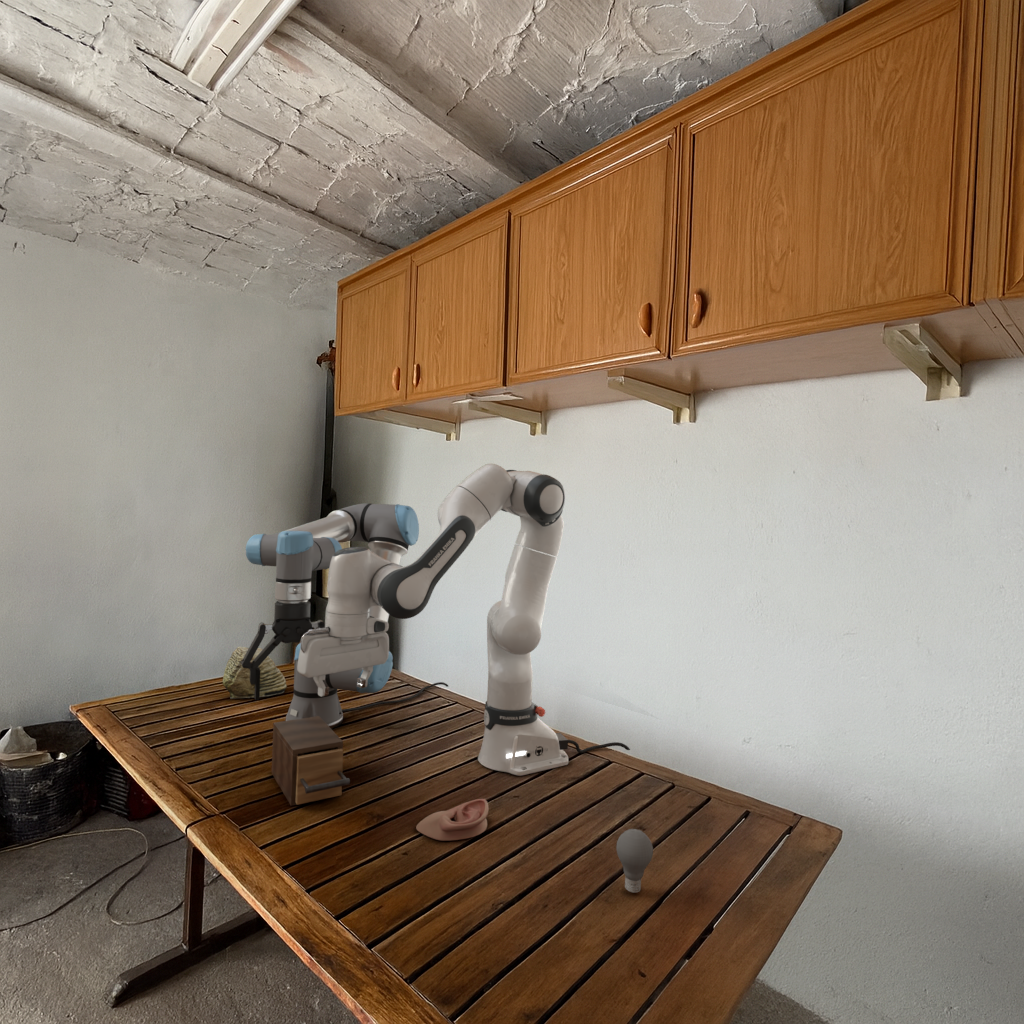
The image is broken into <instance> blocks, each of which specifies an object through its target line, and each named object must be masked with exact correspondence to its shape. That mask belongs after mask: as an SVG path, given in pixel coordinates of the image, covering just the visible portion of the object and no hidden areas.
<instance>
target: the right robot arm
mask: <svg viewBox="0 0 1024 1024" xmlns="http://www.w3.org/2000/svg"><path fill="white" fill-rule="evenodd" d="M565 502H566V493H565V488H564V485H563V484H562V483H561V481H559V480H558V479H557V478H555V477H553V476H551V475H548V474H544V473H543V474H542V473H540V472H537V471H531V470H516V469H505V468H504V467H503V466H501V465H499V464H497V463H487V464H484V465H482V466H481V467H479V468H477V469H476V470H474V471H472V473H470V474H468V475H467V476H466V477H465V478H464V479H463V480H461V481H460V482H459V483H458V484H457V485H456V486H455V487H454V488H453V489H452V490H451V491H450V492H449V493H448V494H447V495H446V496H445V497H444V499H443V500H442V502H441V503H440V504H439V506H438V508H437V521H438V524H439V531H438V534H437V535H436V536H435V538H434V539H433V540H432V542H431V543H429V545H427V547H426V548H425V549H424V550H423V551H422V552H421V554H420V555H419V556H418V557H417V558H415V560H414V561H413V562H411V563H410V564H407V565H405V566H403V565H401V564H400V565H398V564H395V563H392V562H390V561H388V560H385V559H383V558H381V557H379V556H378V555H376V554H375V553H373V552H372V551H371V549H370V548H369V547H367V546H350V547H344V548H342V549H341V550H338V551H337V552H336V553H334V555H333V556H332V559H331V562H330V567H329V568H328V575H327V586H326V591H327V595H328V599H327V605H326V607H325V617H324V625H325V628H320V629H314V628H311V630H308V632H306V633H305V634H304V635H303V636H302V637H301V641H300V643H301V645H300V647H301V648H300V653H299V658H298V665H297V671H298V672H299V673H300V675H302V676H304V677H307V678H311V677H313V679H314V681H315V683H316V684H317V686H318V695H319V696H321V697H323V696H327V695H329V692H328V691H329V687H328V686H325V685H324V682H323V680H325V675H327V674H332V673H337V672H342V671H348V670H353V669H358V668H362V669H363V672H362V675H361V677H360V678H357V687H360V688H364V687H367V683H368V678H369V677H370V675H371V673H372V671H373V666H374V665H380V664H384V663H385V662H386V661H387V659H388V656H389V652H390V637H389V634H388V633H387V632H388V631H389V628H390V624H389V621H388V622H386V621H383V620H380V619H377V618H374V617H372V616H369V611H370V607H371V606H380V607H381V608H383V609H384V610H385V611H386V612H387V613H388V614H389V616H391V617H392V618H395V619H400V620H406V619H411V618H414V617H416V616H418V615H419V614H420V613H421V612H423V611H424V609H425V608H426V606H427V605H428V604H429V601H430V599H431V598H432V595H433V592H434V590H435V588H436V586H437V585H438V583H439V582H440V581H441V579H442V578H443V577H444V575H445V574H446V573H447V572H448V570H450V568H451V567H452V566H453V565H454V564H455V562H456V561H457V560H458V559H459V558H460V557H461V555H463V553H464V552H465V550H466V549H467V548H468V547H469V545H470V544H471V542H473V540H474V538H475V537H476V536H477V535H478V534H479V533H480V532H481V531H482V530H483V529H484V528H485V527H486V526H487V525H488V524H489V523H490V522H491V520H493V518H494V517H495V516H496V515H498V513H499V512H500V511H502V512H504V513H509V514H511V515H514V516H517V517H519V519H520V529H519V532H518V533H517V536H516V540H515V543H514V544H513V545H514V546H513V549H512V552H511V555H510V558H509V561H508V565H507V568H506V571H505V575H504V584H503V590H502V596H501V599H500V600H498V601H496V602H495V603H494V604H493V605H491V607H490V608H489V610H488V612H487V616H486V647H487V649H486V651H487V695H486V701H485V705H484V711H483V712H484V713H483V714H484V715H483V723H484V732H483V737H482V742H481V747H480V750H479V753H478V756H477V761H478V762H479V764H481V766H483V767H485V768H488V769H490V770H492V771H493V770H494V771H497V772H504V773H508V774H511V775H514V776H519V777H520V776H526V775H529V774H535V773H538V772H542V771H543V772H544V771H547V770H551V769H556V768H560V767H564V766H567V765H569V761H570V760H569V756H568V754H567V753H566V751H565V750H568V749H569V744H572V745H574V747H575V750H576V752H577V753H578V754H585V753H588V752H590V751H594V750H599V749H605V748H610V747H621V748H623V749H625V750H626V751H631V749H630V747H629V746H628V745H627V744H625V743H623V742H616V741H615V742H614V741H612V742H607V743H603V744H597V745H592V746H589V747H585V748H584V749H580V745H579V743H578V742H577V741H575V740H573V739H569V738H567V737H565V735H563V733H561V732H555V731H554V730H553V729H552V728H551V727H550V726H549V725H548V724H546V723H545V722H544V721H543V720H541V719H540V718H543V717H545V715H546V709H545V708H543V707H542V706H538V705H537V703H535V702H532V700H533V699H532V698H533V678H534V672H533V666H532V653H531V652H533V651H534V650H535V649H537V647H538V646H539V644H540V642H541V637H542V626H543V621H544V616H545V610H546V603H547V595H548V590H549V586H550V583H551V580H552V576H553V573H554V569H555V567H556V563H557V559H558V557H559V553H560V550H561V549H560V548H561V545H562V540H563V534H564V525H565V521H564V517H563V516H562V514H563V511H564V506H565ZM538 716H539V717H540V718H539V717H538Z"/></svg>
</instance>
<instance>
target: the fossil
mask: <svg viewBox="0 0 1024 1024" xmlns="http://www.w3.org/2000/svg"><path fill="white" fill-rule="evenodd" d="M248 649H249V647H247V646H246V647H245V646H238V647H237V648H236V649H235V650H233V651H232V653H231V656H230V657H229V659H228V660H227V663H226V666H225V668H224V671H223V675H222V676H223V677H222V685H223V687H224V688H225V690H226V691H228V693H229V698H230V699H250V698H255V697H254V692H255V684H253V685H251V683H250V669H248V668H243V667H242V664H241V661H242V660H243V658H244V656H245V654H246V652H247V651H248ZM263 649H264V648H260V647H258V649H257V651H256V652H255V654H254V656H253V658H252V660H251V661H250V662H252V661H253V660H254V659H255V658H256V657H257V656H258V654H259V653H260V652H261V651H262V650H263ZM259 668H260V696H259V698H264V697H271V696H275V695H281V694H284V693H285V691H286V689H287V687H288V686H287V680H286V678H285V676H284V674H283V673H282V672H281V669H279V668H278V667H277V665H276V663H275V662H274V660H273V659H272V658H271V657H270V656H269V655H268V656H267V658H266V659H265V660H264V661H263V662H262V663H261V664H260V665H259Z"/></svg>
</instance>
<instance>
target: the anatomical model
mask: <svg viewBox="0 0 1024 1024" xmlns="http://www.w3.org/2000/svg"><path fill="white" fill-rule="evenodd" d="M488 814H489V803H488V801H487V799H485V798H477V799H472V800H469V801H467V802H464V803H460V804H459V805H457V806H454V807H452V808H449V809H447V810H441V811H436V812H433V813H431V814H429V815H427V816H426V817H424V818H423V819H422V820H420V821H419V822H418V823H417V824H416V828H415V829H416V831H418V832H419V833H421V834H422V835H424V836H426V837H428V838H431V839H433V840H436V841H440V842H447V841H449V842H450V841H458V840H466V839H470V838H474V837H476V836H479V835H481V834H482V833H484V832H485V831H486V830H487V828H488V820H487V817H488Z"/></svg>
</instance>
